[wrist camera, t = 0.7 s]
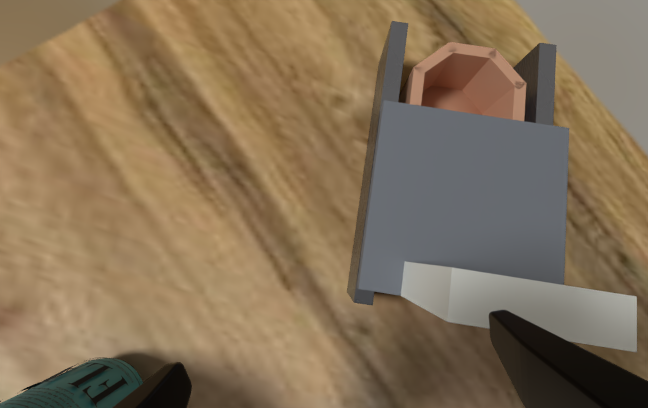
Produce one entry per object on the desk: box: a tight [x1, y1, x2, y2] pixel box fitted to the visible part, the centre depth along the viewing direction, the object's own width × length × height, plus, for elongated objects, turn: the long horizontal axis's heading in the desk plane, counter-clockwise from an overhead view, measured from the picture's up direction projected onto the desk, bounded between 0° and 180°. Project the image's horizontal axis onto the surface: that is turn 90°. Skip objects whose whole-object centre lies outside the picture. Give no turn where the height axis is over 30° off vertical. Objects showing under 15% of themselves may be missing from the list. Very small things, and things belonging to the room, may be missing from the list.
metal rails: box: [347, 21, 556, 305], centre depth 23 cm, size 20×12×5 cm, turn 171°
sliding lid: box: [357, 100, 637, 352], centre depth 16 cm, size 12×12×8 cm
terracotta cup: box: [398, 42, 527, 121], centre depth 24 cm, size 8×8×5 cm
